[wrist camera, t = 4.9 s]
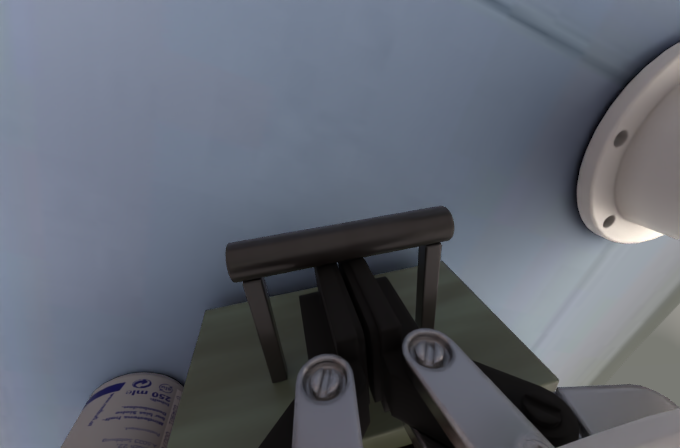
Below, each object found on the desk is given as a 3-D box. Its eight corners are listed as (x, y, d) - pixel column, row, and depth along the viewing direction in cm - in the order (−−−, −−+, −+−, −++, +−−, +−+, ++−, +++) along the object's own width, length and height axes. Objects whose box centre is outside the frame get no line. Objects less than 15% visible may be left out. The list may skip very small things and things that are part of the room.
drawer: (162, 202, 12) (20, 358, 5) (451, 159, 14) (623, 229, 7) (260, 448, 21) (255, 626, 14) (429, 399, 23) (497, 532, 16)
